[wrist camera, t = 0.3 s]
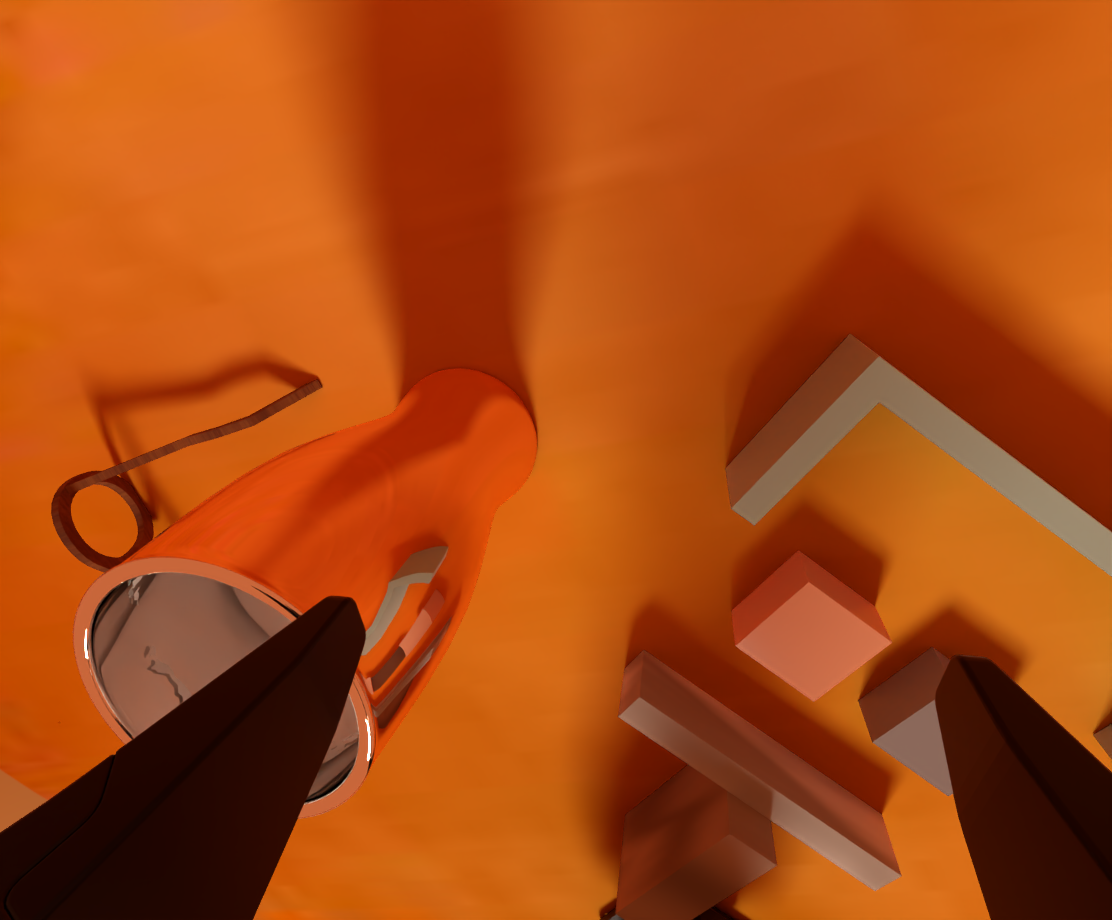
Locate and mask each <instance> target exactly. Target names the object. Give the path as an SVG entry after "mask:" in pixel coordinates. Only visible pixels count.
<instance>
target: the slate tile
mask: <svg viewBox="0 0 1112 920" xmlns="http://www.w3.org/2000/svg"><path fill="white" fill-rule="evenodd" d="M949 661H950V659H948V658H947V657H946V656H944V655H943V654H941V653H940V652H939V651H937V650H936V649H935V648H933V647H931V648H930V649H929V650H927V651H926V652H925V653H923V654H922V655H920V656H919V657H918V658H916V659H915V660H914V661H912V662H911V663H909V664H908V665H907V666H905V667H904V668H903V669H901V670H900V671H898V672H897V673H896V674H894V675H893V676H892V677H890V678H889V679H887V680H886V681H885V682H883V683H882V684H881V685H879V686H878V687H876V688H875V689H874V690H872V691H871V692H870V693H868V694H867V695H865V696H864V697H863V698H861V699H860V700H859V701H858V702H859V705H860V707H861V710H862V713H863V716H864V719H865V722H866V725H867V728H868V731H869V734H870V737H871V740H872V742H873V743H874V744H876V745H877V746H878V747H880V748H881V749H883V750H884V751H886V752H887V753H888V754H890V755H891V756H893V757H894V758H895V759H897V760H898V761H900V762H901V763H902V764H904V765H905V766H907V767H908V768H909V769H911V770H912V771H914V772H915V773H916V774H918V775H919V776H921V777H922V778H923V779H925V780H926V781H928V782H929V783H930V784H932V785H933V786H935V787H936V788H938V789H939V790H940V791H942V792H943V793H945V794H946V795H947V796H949V795H951V794H953V790H952V785H951V780H950V775H949V770H948V765H947V760H946V756H945V751H944V746H943V741H942V736H941V731H940V726H939V721H938V716H937V711H936V706H935V693H936V689H937V686H938V684H939V682H940V680H941V678H942V676H943V673H944V671H945V669H946V667H947V665H948V663H949Z"/></svg>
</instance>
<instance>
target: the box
mask: <svg viewBox="0 0 1112 920" xmlns="http://www.w3.org/2000/svg"><path fill="white" fill-rule="evenodd" d="M879 402H880V403H881V404H882V405H884V406H885V407H886V408H888V409H889V410H890V411H892V412H893V413H894V414H896V415H897V416H898V417H900V418H901V419H902V420H904V421H905V422H906V423H908V424H909V425H910V426H912V427H913V428H914V429H916V430H917V431H918V432H920V433H921V434H922V435H924V436H925V437H926V438H928V439H929V440H930V441H932V442H933V443H934V444H936V445H937V446H938V447H940V448H941V449H942V450H944V451H945V452H946V453H948V454H949V455H950V456H952V457H953V458H954V459H956V460H957V461H958V462H960V463H961V464H962V465H964V466H965V467H966V468H968V469H969V470H970V471H972V472H973V473H974V474H976V475H977V476H978V477H980V478H981V479H982V480H984V481H985V482H986V483H988V484H989V485H990V486H992V487H993V488H994V489H996V490H997V491H998V492H1000V493H1001V494H1002V495H1004V496H1005V497H1006V498H1008V499H1009V500H1010V501H1012V502H1013V503H1014V504H1016V505H1017V506H1018V507H1020V508H1021V509H1022V510H1024V511H1025V512H1026V513H1028V514H1029V515H1030V516H1032V517H1033V518H1034V519H1036V520H1037V521H1038V522H1040V523H1041V524H1042V525H1044V526H1045V527H1046V528H1048V529H1049V530H1050V531H1052V532H1053V533H1054V534H1056V535H1057V536H1058V537H1060V538H1061V539H1062V540H1064V541H1065V542H1066V543H1068V544H1069V545H1070V546H1072V547H1073V548H1074V549H1076V550H1077V551H1078V552H1080V553H1081V554H1082V555H1084V556H1085V557H1086V558H1088V559H1089V560H1090V561H1092V562H1093V563H1094V564H1096V565H1097V566H1098V567H1100V568H1101V569H1102V570H1104V571H1105V572H1106V573H1108V574H1109V575H1110V576H1112V531H1111V530H1109V529H1108V528H1107V527H1105V526H1104V525H1103V524H1101V523H1100V522H1099V521H1098V520H1096V519H1095V518H1094V517H1092V516H1091V515H1090V514H1088V513H1087V512H1086V511H1084V510H1083V509H1082V508H1080V507H1079V506H1078V505H1076V504H1075V503H1074V502H1072V501H1071V500H1070V499H1068V498H1067V497H1066V496H1064V495H1063V494H1062V493H1061V492H1059V491H1058V490H1057V489H1055V488H1054V487H1053V486H1051V485H1050V484H1049V483H1047V482H1046V481H1045V480H1043V479H1042V478H1041V477H1039V476H1038V475H1037V474H1035V473H1034V472H1033V471H1031V470H1030V469H1029V468H1027V467H1026V466H1025V465H1023V464H1022V463H1021V462H1020V461H1018V460H1017V459H1016V458H1014V457H1013V456H1012V455H1010V454H1009V453H1008V452H1006V451H1005V450H1004V449H1002V448H1001V447H1000V446H998V445H997V444H996V443H994V442H993V441H992V440H990V439H989V438H988V437H986V436H985V435H984V434H982V433H981V432H980V431H979V430H977V429H976V428H975V427H973V426H972V425H971V424H969V423H968V422H967V421H965V420H964V419H963V418H961V417H960V416H959V415H957V414H956V413H955V412H953V411H952V410H951V409H949V408H948V407H947V406H945V405H944V404H943V403H942V402H940V401H939V400H938V399H936V398H935V397H934V396H932V395H931V394H930V393H928V392H927V391H926V390H924V389H923V388H922V387H920V386H919V385H918V384H916V383H915V382H914V381H912V380H911V379H910V378H908V377H907V376H906V375H904V374H903V373H902V372H901V371H899V370H898V369H897V368H895V367H894V366H893V365H891V364H890V363H889V362H887V361H886V360H885V359H883V358H882V357H881V356H879V355H878V354H877V353H875V352H874V351H873V350H871V349H870V348H869V347H867V346H866V345H865V344H863V343H862V342H861V341H860V340H858V339H857V338H856V337H854V336H853V335H852V334H849V335H848V336H847V338H846V339H845V340H844V341H843V342H842V343H841V344H840V345H839V346H838V347H837V348H836V349H835V350H834V352H833V353H832V354H831V355H830V356H829V357H828V358H827V359H826V360H825V361H824V362H823V363H822V364H821V366H820V367H819V368H818V369H817V370H816V371H815V372H814V373H813V374H812V375H811V376H810V377H809V379H808V380H807V381H806V382H805V383H804V384H803V385H802V386H801V387H800V388H799V389H798V390H797V391H796V393H795V394H794V395H793V396H792V397H791V398H790V399H789V400H788V401H787V402H786V403H785V404H784V406H783V407H782V408H781V409H780V410H779V411H778V412H777V413H776V414H775V415H774V416H773V417H772V418H771V420H770V421H769V422H768V423H767V424H766V425H765V426H764V427H763V428H762V429H761V430H760V431H759V433H758V434H757V435H756V436H755V437H754V438H753V439H752V440H751V441H750V442H749V443H748V444H747V445H746V447H745V448H744V449H743V450H742V451H741V452H740V453H739V454H738V455H737V456H736V457H735V458H734V459H733V461H732V462H731V463H730V464H729V465H728V466H727V467H726V468H725V469H726V477H727V484H728V491H729V498H730V505H731V509H732V510H734V511H735V512H736V513H738V514H739V515H740V516H742V517H743V518H745V519H746V520H747V521H749V522H750V523H752V524H753V525H755V524H756V523H757V522H758V521H759V520H761V519H762V518H763V517H764V516H765V515H766V514H767V513H768V512H769V511H770V510H771V509H772V508H773V507H774V506H775V505H776V504H777V503H778V502H779V501H780V500H781V499H782V498H783V497H784V496H785V495H786V494H787V493H788V492H789V491H790V490H791V489H792V488H793V487H794V486H795V485H796V484H797V483H798V482H799V481H800V480H801V479H802V478H803V477H804V476H805V475H806V474H807V473H808V472H809V471H810V470H811V469H812V468H813V467H814V466H815V465H816V464H817V463H818V462H819V461H820V460H821V459H822V458H823V457H824V456H825V455H826V454H827V453H828V452H829V451H830V450H831V449H832V448H833V447H834V446H835V445H836V444H837V443H838V442H839V441H840V440H841V439H842V438H843V437H844V436H845V435H846V434H847V433H848V432H849V431H850V430H851V429H852V428H853V427H854V426H855V425H856V424H857V423H858V422H859V421H860V420H861V419H863V418H864V417H865V416H866V415H867V414H868V413H869V412H870V411H871V410H872V409H873V408H874V407H875V406H876V405H877V404H878V403H879ZM1093 736H1094V737H1095V738H1096V740H1097V741H1098V742H1099V744H1100V745H1101V746H1102V747H1103V749H1104V750H1105V751H1106V753H1107V754H1108V755H1109V757H1110V758H1111V759H1112V724H1111V725H1109V726H1107V727H1106V728H1104V729H1102V730H1101V731H1099V732H1097V733H1095V734H1094V735H1093Z"/></svg>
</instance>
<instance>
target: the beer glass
mask: <svg viewBox="0 0 1112 920" xmlns="http://www.w3.org/2000/svg"><path fill="white" fill-rule="evenodd" d="M536 452H537V438H536V431H535V427H534V424H533V421H532V418H531V416H530V414H529V412H528V410H527V408H526V406H525V405H524V403H523V402H522V401H521V399H520V398H519V397H518V396H517V395H516V394H515V393H514V392H513V391H512V390H511V389H510V388H509V387H508V386H507V385H505V384H504V383H503V382H501V381H500V380H498V379H496V378H494V377H492V376H490V375H488V374H486V373H483V372H480V371H476V370H471V369H463V368H455V369H446V370H441V371H438V372H435V373H432V374H430V375H428V376H426V377H425V378H423V379H422V380H420V381H419V382H418V383H416V384H415V385H414V386H413V387H412V388H411V389H410V390H409V391H408V392H407V394H406V395H405V396H404V398H403V399H402V400H401V402H400V403H399V405H398V406H397V408H396V409H395V410H394V412H392V413H391V414H389V415H387V416H384V417H381V418H379V419H376V420H372V421H369V422H366V423H362V424H359V425H355V426H352V427H349V428H346V429H343V430H340V431H336V432H333V433H330V434H327V435H324V436H322V437H319V438H317V439H314V440H312V441H309V442H307V443H304V444H302V445H299V446H297V447H294V448H292V449H289V450H287V451H285V452H283V453H281V454H279V455H277V456H276V457H274V458H272V459H270V460H268V461H267V462H265V463H263V464H261V465H259V466H257V467H256V468H254V469H252V470H250V471H248V472H247V473H245V474H243V475H242V476H240V477H239V478H237V479H236V480H234V481H233V482H231V483H230V484H228V485H227V486H225V487H224V488H222V489H221V490H219V491H218V492H216V493H215V494H213V495H212V496H210V497H209V498H207V499H206V500H204V501H203V502H202V503H200V504H199V505H198V506H196V507H195V508H194V509H192V510H191V511H190V512H188V513H187V514H186V515H184V516H183V517H181V518H180V519H179V520H177V521H176V522H175V523H173V524H172V525H171V526H169V527H168V528H167V529H166V530H164V531H163V532H162V533H160V534H159V535H158V536H157V537H155V538H154V539H153V540H151V541H150V542H149V543H148V544H146V545H145V546H144V547H143V548H141V549H140V550H139V551H137V552H136V553H135V554H133V555H132V556H131V557H129V558H128V559H127V560H125V561H124V562H122V563H121V564H119V565H117V566H115V567H113V568H111V569H110V570H108V571H107V572H105V573H104V574H102V575H101V576H100V577H99V578H98V579H96V581H95V582H94V583H93V584H92V585H91V586H90V587H89V588H88V590H87V591H86V593H85V594H84V596H83V597H82V599H81V601H80V604H79V606H78V609H77V612H76V616H75V621H74V628H73V645H74V653H75V658H76V662H77V666H78V670H79V673H80V676H81V678H82V681H83V683H84V686H85V688H86V690H87V692H88V694H89V696H90V698H91V700H92V701H93V703H94V705H95V706H96V708H97V710H98V711H99V713H100V714H101V716H102V717H103V719H104V720H105V721H106V723H107V724H108V725H109V727H110V728H111V729H112V730H113V732H114V733H115V734H116V735H117V736H118V737H119V739H120V740H121V741H122V742H123V743H124V744H127V743H128V742H130V741H131V740H132V739H134V738H135V737H136V736H138V735H139V734H140V733H142V732H143V731H144V730H146V729H147V728H149V727H150V726H151V725H153V724H154V723H155V722H157V721H158V720H159V719H161V718H162V717H164V716H165V715H166V714H168V713H169V712H170V711H172V710H173V709H174V708H176V707H177V706H178V705H180V704H181V703H183V702H184V701H185V700H187V699H188V698H189V697H191V696H192V695H193V694H195V693H196V692H197V691H199V690H200V689H202V688H203V687H204V686H206V685H207V684H208V683H210V682H211V681H212V680H214V679H215V678H216V677H218V676H219V675H221V674H222V673H223V672H225V671H226V670H227V669H229V668H230V667H231V666H233V665H234V664H236V663H237V662H238V661H240V660H241V659H242V658H244V657H245V656H246V655H248V654H249V653H250V652H252V651H253V650H255V649H256V648H257V647H259V646H260V645H261V644H263V643H264V642H265V641H267V640H268V639H269V638H271V637H272V636H274V635H275V634H276V633H278V632H279V631H280V630H282V629H283V628H284V627H286V626H287V625H289V624H290V623H291V622H293V621H294V620H295V619H297V618H298V617H299V616H301V615H302V614H303V613H305V612H306V611H308V610H309V609H310V608H312V607H313V606H314V605H316V604H317V603H318V602H320V601H321V600H322V599H324V598H326V597H328V596H333V595H334V596H345V597H351V598H353V599H354V600H355V602H356V604H357V607H358V610H359V612H360V615H361V618H362V621H363V624H364V626H365V630H366V640H365V645H364V648H363V651H362V654H361V657H360V660H359V664H358V667H357V670H356V673H355V676H354V679H353V682H352V685H351V688H350V691H349V694H348V697H347V700H346V703H345V706H344V710H343V713H342V716H341V719H340V721H339V724H338V727H337V730H336V732H335V735H334V737H333V740H332V742H331V744H330V747H329V749H328V751H327V754H326V756H325V758H324V760H323V763H322V765H321V767H320V769H319V772H318V774H317V776H316V778H315V781H314V783H313V785H312V787H311V790H310V792H309V794H308V796H307V799H306V801H305V803H304V805H303V808H302V810H301V812H300V814H299V817H298V818H306V817H311V816H315V815H318V814H322V813H324V812H327V811H329V810H331V809H333V808H335V807H337V806H339V805H341V804H342V803H344V802H345V801H346V800H348V799H349V798H350V797H351V796H352V795H353V794H354V793H355V792H356V791H357V790H358V789H359V788H360V786H361V785H362V784H363V782H364V781H365V779H366V777H367V775H368V773H369V771H370V769H371V767H372V765H373V764H374V762H375V760H376V759H377V758H378V756H379V755H380V753H381V752H382V750H383V749H384V747H385V746H386V744H387V743H388V741H389V740H390V738H391V737H392V736H393V734H394V733H395V731H396V730H397V728H398V727H399V726H400V724H401V723H402V721H403V720H404V718H405V717H406V715H407V714H408V712H409V711H410V709H411V708H412V706H413V705H414V703H415V702H416V700H417V699H418V697H419V696H420V694H421V693H422V691H423V690H424V688H425V687H426V685H427V684H428V682H429V680H430V679H431V677H432V675H433V674H434V672H435V670H436V669H437V667H438V665H439V663H440V662H441V660H442V658H443V657H444V655H445V653H446V652H447V650H448V648H449V646H450V644H451V642H452V640H453V638H454V636H455V634H456V632H457V630H458V628H459V626H460V624H461V622H462V619H463V617H464V615H465V613H466V611H467V609H468V606H469V603H470V600H471V597H472V595H473V592H474V589H475V586H476V583H477V580H478V577H479V574H480V570H481V567H482V563H483V559H484V555H485V551H486V547H487V543H488V539H489V535H490V530H491V526H492V522H493V519H494V515H495V513H496V511H497V509H498V508H499V507H500V506H501V505H502V504H503V503H505V502H506V501H507V500H508V499H510V498H511V497H512V496H513V495H514V494H515V493H516V492H518V491H519V490H520V488H521V487H522V486H523V485H524V483H525V482H526V481H527V479H528V478H529V476H530V474H531V472H532V469H533V466H534V463H535V459H536Z"/></svg>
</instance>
